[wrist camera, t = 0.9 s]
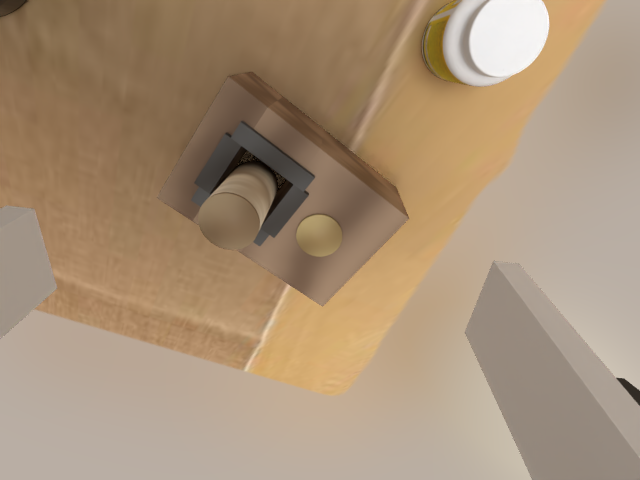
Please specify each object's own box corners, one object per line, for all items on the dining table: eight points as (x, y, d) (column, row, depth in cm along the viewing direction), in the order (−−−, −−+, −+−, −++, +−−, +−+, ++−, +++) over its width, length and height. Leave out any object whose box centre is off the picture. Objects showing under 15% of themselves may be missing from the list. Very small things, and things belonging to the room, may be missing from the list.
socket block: (190, 171, 38) (153, 200, 31) (252, 71, 34) (225, 76, 26) (325, 264, 43) (322, 310, 35) (396, 187, 38) (410, 221, 30)
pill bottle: (459, 94, 34) (508, 110, 24) (406, 55, 32) (434, 54, 23) (509, 28, 31) (587, 16, 21) (453, -17, 30) (508, -53, 20)
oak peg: (222, 187, 31) (187, 227, 24) (247, 151, 30) (217, 181, 22) (261, 214, 32) (238, 260, 25) (287, 180, 31) (270, 218, 23)
